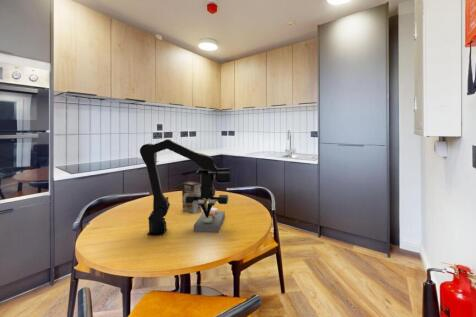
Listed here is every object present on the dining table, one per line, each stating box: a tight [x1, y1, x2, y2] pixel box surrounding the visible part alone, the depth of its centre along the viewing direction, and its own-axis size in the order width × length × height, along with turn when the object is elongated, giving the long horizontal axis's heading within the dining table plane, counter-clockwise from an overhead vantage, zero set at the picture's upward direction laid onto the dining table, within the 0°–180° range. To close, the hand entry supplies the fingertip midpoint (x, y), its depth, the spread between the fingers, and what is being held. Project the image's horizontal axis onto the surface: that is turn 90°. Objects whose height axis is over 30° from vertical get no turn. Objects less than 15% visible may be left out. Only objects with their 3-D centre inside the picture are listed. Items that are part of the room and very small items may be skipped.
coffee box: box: [181, 180, 202, 214], centre depth 141 cm, size 9×6×16 cm
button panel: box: [193, 210, 226, 234], centre depth 121 cm, size 11×20×3 cm, turn 175°
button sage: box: [203, 216, 212, 223], centre depth 115 cm, size 4×4×2 cm
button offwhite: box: [210, 207, 218, 213], centre depth 128 cm, size 4×4×2 cm
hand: (207, 217), depth 115 cm, fingers closed, pressing on button sage
